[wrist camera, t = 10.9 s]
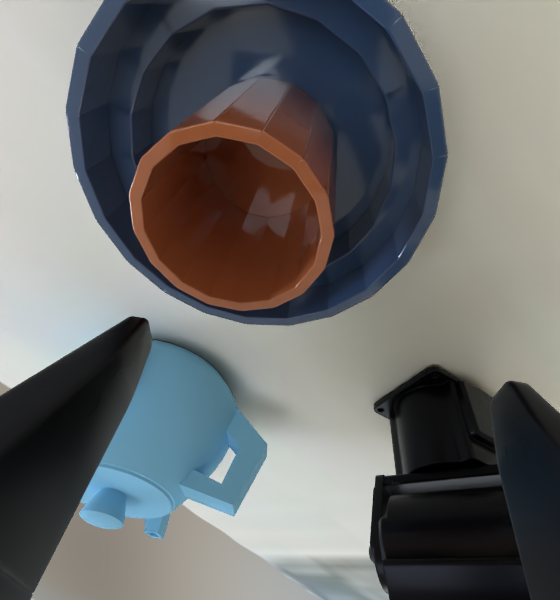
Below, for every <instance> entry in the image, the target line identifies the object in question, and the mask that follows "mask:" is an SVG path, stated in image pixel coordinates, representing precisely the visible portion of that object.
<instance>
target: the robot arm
mask: <svg viewBox="0 0 560 600" xmlns="http://www.w3.org/2000/svg"><path fill="white" fill-rule="evenodd" d="M151 347H152V339H151V333H150V327H149V323H148V320H147V319H145V318H140V317H134V316H132V317H129V318H127V319H125V320H123V321H122V322H120V323H119V324H117V325H115V326H114V327H112V328H110V329H109V330H107V331H105V332H104V333H102V334H101V335H99V336H97V337H96V338H94V339H92V340H91V341H89V342H87V343H86V344H84V345H83V346H81V347H79V348H78V349H76V350H74V351H73V352H71V353H69V354H68V355H66V356H64V357H63V358H61V359H60V360H58V361H56V362H55V363H53V364H51V365H50V366H48V367H46V368H45V369H43V370H42V371H40V372H38V373H37V374H35V375H33V376H32V377H30V378H28V379H27V380H25V381H24V382H22V383H20V384H19V385H17V386H15V387H14V388H12V389H10V390H9V391H7V392H6V393H4V394H2V395H1V396H0V600H30V599H31V597H32V593H33V592H34V591H35V589H36V587H37V585H38V583H39V581H40V579H41V577H42V575H43V573H44V571H45V569H46V567H47V565H48V563H49V562H50V560H51V558H52V556H53V554H54V552H55V550H56V548H57V546H58V544H59V542H60V540H61V538H62V536H63V534H64V532H65V530H66V528H67V526H68V524H69V523H70V520H71V518H72V517H73V515H74V512H75V511H76V509H77V507H78V505H79V503H80V501H81V499H82V497H83V495H84V493H85V491H86V489H87V487H88V485H89V483H90V482H91V480H92V478H93V476H94V474H95V472H96V470H97V468H98V466H99V464H100V462H101V460H102V458H103V456H104V454H105V452H106V450H107V448H108V446H109V444H110V442H111V441H112V439H113V437H114V435H115V433H116V431H117V429H118V427H119V425H120V423H121V421H122V419H123V417H124V415H125V413H126V411H127V409H128V407H129V405H130V403H131V401H132V398H133V396H134V393H135V390H136V388H137V385H138V382H139V380H140V377H141V374H142V372H143V369H144V366H145V364H146V361H147V358H148V356H149V353H150V350H151ZM374 411H375V412H376V413H378V414H380V415H382V416H384V417H386V418H388V419H390V425H391V434H392V443H393V452H394V460H395V469H396V475H391V476H384V475H377V476H376V478H375V487H374V491H373V506H372V521H371V536H370V547H369V556H370V559H371V560H372V562H373V563H374V564H375V566H376V570H377V574H378V578H379V581H380V583H381V585H382V588H383V589H384V591H385V592H386V593H388V594H389V599H390V600H560V413H559V412H558V411H556V410H555V409H554V408H553V407H552V406H551V405H550V404H549V403H548V402H547V401H546V400H545V399H544V398H542V397H541V396H540V395H539V394H538V393H537V392H536V391H535V390H534V389H533V388H532V387H531V386H529V385H528V384H526V383H522V382H516V381H508V382H506V383H505V384H504V385H503V386H502V388H501V389H500V390H499V391H498V393H497V394H496V395H495V396H494V398H491V397H490V396H488V395H487V394H486V393H484V392H482V391H481V390H479V389H477V388H476V387H474V386H472V385H470V384H469V383H467V382H465V381H463V380H460V379H459V378H457V377H455V376H453V375H452V374H450V373H448V372H447V371H445V370H443V369H441V368H440V367H437V366H432V367H429V368H428V369H426V370H425V371H423V372H422V373H420V374H418V375H417V376H415V377H414V378H412V379H411V380H409V381H408V382H406V383H405V384H403V385H402V386H400V387H399V388H397V389H396V390H394V391H393V392H391V393H390V394H388V395H387V396H385V397H384V398H382V399H381V400H379V401H378V402H376V403H375V404H374Z"/></svg>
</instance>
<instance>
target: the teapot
mask: <svg viewBox="0 0 560 600" xmlns="http://www.w3.org/2000/svg"><path fill="white" fill-rule="evenodd" d="M229 447H230V448H231V449H232V450H233V451H234V453H235V454H236V456H235V458H234V460H233V462H232V464H231V466H230V468H229V470H228V472H227V474H226V476H225V478H224V480H223V482H222V484H220V483H218V482H217V481H215V480H213V479H211V478H209V476H210V475H211V474H212V473H213V472H214V471H215V469H216V468H217V467H218V465H219V464H220V462H221V461H222V459H223V458H224V456H225V454H226V452H227V450H228V449H229ZM266 456H267V444H266V442H265V441H264V440H263V439H262V437H261V436H260V435H259V434H258V433H257V431H256V430H255V429H254V428H253V427H252V425H251V424H250V423H249V422H248V421H247V419H246V418H245V417H244V416H243V415H242V413H241V412H240V411H239V410H238V408H237V405H236V401H235V399H234V397H233V395H232V393H231V391H230V389H229V387H228V386H227V384H226V383H225V381H224V380H223V378H222V377H221V376H220V374H219V373H218V372H217V371H216V370H215V369H214V368H213V367H212V366H211V365H210V364H209V363H208V362H206V361H205V360H204V359H202V358H201V357H199V356H197V355H196V354H194V353H192V352H190V351H188V350H186V349H184V348H181V347H179V346H176V345H173V344H170V343H167V342H162V341H158V340H152V347H151V350H150V353H149V356H148V358H147V361H146V364H145V366H144V369H143V372H142V374H141V377H140V380H139V382H138V385H137V388H136V390H135V393H134V396H133V398H132V401H131V403H130V405H129V407H128V409H127V411H126V413H125V415H124V417H123V419H122V421H121V423H120V425H119V427H118V429H117V431H116V433H115V435H114V437H113V439H112V441H111V442H110V444H109V446H108V448H107V450H106V452H105V454H104V456H103V458H102V460H101V462H100V464H99V466H98V468H97V470H96V472H95V474H94V476H93V478H92V480H91V482H90V483H89V485H88V487H87V489H86V491H85V493H84V495H83V497H82V499H81V501H80V502H82V503H84V504H86V505H85V506H84V507H83V509H82V510H81V511H80V513H79V515H80V516H81V517H82V518H83V519H84V520H85V521H86V522H88V523H89V524H92V525H94V526H97V527H100V528H105V529H118V528H122V527H123V524H124V520H125V517H131V518H142V519H145V530H144V532H145V533H146V534H147V535H149V537H152V538H160V539H163V538H164V534H165V531H166V527H167V524H168V520H169V517H170V513H171V512H172V511H173V510H174V509H176V508H177V507H178V506H179V505H181V504H182V503H183V502H184V501H185V500H187V499H191V500H193V501H196V502H198V503H201V504H204V505H206V506H209V507H211V508H214V509H216V510H219V511H221V512H224V513H226V514H229V515H231V516H235V514H236V512H237V510H238V508H239V506H240V505H241V503H242V501H243V499H244V497H245V495H246V494H247V492H248V490H249V488H250V486H251V484H252V483H253V481H254V479H255V477H256V475H257V473H258V472H259V470H260V468H261V466H262V464H263V462H264V461H265V459H266Z"/></svg>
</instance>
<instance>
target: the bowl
mask: <svg viewBox="0 0 560 600" xmlns="http://www.w3.org/2000/svg"><path fill="white" fill-rule="evenodd" d="M254 78H274V79H280V80H283V81H287V82H289V83H291V84H293V85H296V86H297V87H299V88H301V89H302V90H304V91H305V92H306V93H308V94H309V95H310V96H311V97H312V98H313V99H314V100H315V101H316V102H317V103H318V104H319V105H320V107H321V108H322V110H323V111H324V113H325V114H326V116H327V118H328V120H329V122H330V125H331V128H332V130H333V134H334V139H335V146H336V157H337V173H336V205H335V235H334V240H333V244H332V247H331V250H330V254H329V257H328V261H327V264H326V268H325V269H324V271H323V272H322V273H321V274H320V275H319V277H318V278H317V279H316V280H315V281H314V282H313V283H312V284H311V286H310V287H309V288H308V289H307V290H306V291H305V292H304V293H303V294H302V295H300V296H298V297H296V298H294V299H291V300H289V301H287V302H285V303H283V304H281V305H279V306H277V307H274V308H267V309H257V310H247V311H239V310H234V309H229V308H224V307H219V306H214V305H209V304H207V303H205V302H203V301H201V300H199V299H197V298H195V297H193V296H191V295H189V294H188V293H186V292H184V291H182V290H180V289H178V288H177V287H175V286H174V285H173V284H172V283H171V282H170V281H169V280H168V279H167V278H166V277H165V276H164V275H163V274H162V273H161V272H160V271H159V270H158V269H157V268H156V267H155V266H154V265H153V264H152V263H151V262H150V261H149V259H148V257H147V255H146V253H145V251H144V249H143V247H142V246H141V244H140V242H139V240H138V238H137V236H136V234H135V233H134V230H133V224H132V216H131V208H130V200H129V191H130V188H131V185H132V182H133V179H134V176H135V173H136V170H137V167H138V164H139V162H140V159H141V158H142V156H143V155H144V154H145V153H146V152H147V151H149V150H150V149H151V148H152V147H153V146H154V145H155V144H156V143H157V142H158V141H160V140H161V139H162V138H163V137H164V136H165V135H166V134H167V133H168V132H170V131H171V130H172V129H174V128H175V127H176V126H178V125H179V124H180V123H182V122H183V121H184V120H186V119H187V118H188V117H190V116H191V115H192V114H194V113H195V112H196V111H198V110H199V109H200V108H202V107H203V106H204V105H206V104H207V103H208V102H210V101H211V100H212V99H214V98H215V97H216V96H218V95H219V94H220V93H222V92H223V91H225V90H226V89H227V88H229V87H230V86H232V85H236V84H238V83H240V82H243V81H246V80H249V79H254ZM66 116H67V123H68V130H69V137H70V145H71V152H72V159H73V166H74V169H75V173H76V175H77V177H78V180H79V182H80V184H81V187H82V189H83V191H84V194H85V196H86V198H87V200H88V203H89V205H90V207H91V210H92V212H93V214H94V217H95V219H96V220H97V222H98V223H99V225H100V226H101V227H102V229H103V230H104V231H105V233H106V234H107V235H108V237H109V238H110V239H111V241H112V242H113V243H114V244H115V246H116V247H117V248H118V250H119V251H120V252H121V254H122V255H123V256H124V258H125V259H126V260H127V261H128V262H129V263H130V264H131V265H132V266H134V267H135V268H136V269H137V270H138V271H139V272H141V273H142V274H143V275H144V276H145V277H147V278H148V279H149V280H150V281H151V282H153V283H154V284H155V285H156V286H157V287H159V288H160V289H161V290H162V291H165V293H167V294H169V295H171V296H173V297H174V298H176V299H178V300H180V301H182V302H184V303H186V304H188V305H190V306H192V307H194V308H196V309H198V310H200V311H201V312H203V313H204V312H205V313H206V314H210V315H214V316H218V317H221V318H225V319H229V320H233V321H236V322H240V323H244V324H256V325H287V326H289V325H295V324H299V323H304V322H309V321H314V320H318V319H323V318H328V317H332V316H334V315H336V314H338V313H340V312H342V311H344V310H346V309H348V308H350V307H352V306H354V305H356V304H358V303H360V302H362V301H364V300H366V299H368V298H370V297H372V296H373V295H374V294H375V293H376V292H378V291H379V290H380V289H381V288H382V287H383V286H384V285H385V284H386V283H387V282H388V281H389V280H390V279H391V278H393V277H394V276H395V275H396V274H397V273H398V272H399V271H400V270H401V269H402V268H403V267H404V266H405V265H407V263H408V262H409V261H410V259H411V257H412V256H413V254H414V252H415V250H416V249H417V247H418V245H419V243H420V242H421V240H422V238H423V236H424V235H425V233H426V231H427V229H428V228H429V226H430V224H431V222H432V221H433V219H434V217H435V215H436V211H437V206H438V201H439V196H440V191H441V186H442V181H443V177H444V172H445V167H446V162H447V157H448V156H447V154H448V151H447V144H446V136H445V128H444V121H443V113H442V105H441V98H440V90H439V86H438V82H437V80H436V78H435V76H434V74H433V72H432V70H431V69H430V67H429V65H428V63H427V61H426V59H425V57H424V55H423V53H422V51H421V49H420V47H419V45H418V43H417V42H416V40H415V38H414V36H413V34H412V32H411V30H410V28H409V26H408V24H407V22H406V20H405V18H404V16H403V15H401V13H400V12H399V11H398V10H397V9H396V8H395V7H394V6H393V5H391V4H390V3H389V2H388V1H387V0H104V1H103V3H102V5H101V6H100V8H99V9H98V11H97V13H96V14H95V16H94V18H93V19H92V21H91V23H90V24H89V26H88V28H87V29H86V31H85V32H84V34H83V36H82V37H81V39H80V41H79V42H78V46H77V48H76V53H75V59H74V65H73V70H72V76H71V82H70V87H69V93H68V99H67V104H66Z"/></svg>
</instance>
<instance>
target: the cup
mask: <svg viewBox="0 0 560 600" xmlns="http://www.w3.org/2000/svg"><path fill="white" fill-rule="evenodd" d="M336 173H337V157H336V146H335V139H334V134H333V130H332V128H331V125H330V122H329V120H328V118H327V116H326V114H325V113H324V111H323V110H322V108H321V107H320V105H319V104H318V103H317V102H316V101H315V100H314V99H313V98H312V97H311V96H310V95H309V94H308V93H306V92H305V91H304V90H302V89H301V88H299V87H297V86H296V85H293V84H291V83H289V82H287V81H283V80H280V79H274V78H254V79H249V80H246V81H243V82H240V83H238V84H236V85H232V86H230V87H229V88H227V89H226V90H225V91H223V92H222V93H220V94H219V95H218V96H216V97H215V98H214V99H212V100H211V101H210V102H208V103H207V104H206V105H204V106H203V107H202V108H200V109H199V110H198V111H196V112H195V113H194V114H192V115H191V116H190V117H188V118H187V119H186V120H184V121H183V122H182V123H180V124H179V125H178V126H176V127H175V128H174V129H172V130H171V131H170V132H168V133H167V134H166V135H165V136H164V137H163V138H162V139H161V140H160V141H158V142H157V143H156V144H155V145H154V146H153V147H152V148H151V149H150V150H149V151H147V152H146V153H145V154H144V155H143V156H142V158H141V159H140V162H139V164H138V167H137V170H136V173H135V176H134V179H133V182H132V185H131V188H130V191H129V200H130V208H131V216H132V224H133V230H134V233H135V234H136V236H137V238H138V240H139V242H140V244H141V246H142V247H143V249H144V251H145V253H146V255H147V257H148V259H149V261H150V262H151V263H152V264H153V265H154V266H155V267H156V268H157V269H158V270H159V271H160V272H161V273H162V274H163V275H164V276H165V277H166V278H167V279H168V280H169V281H170V282H171V283H172V284H173V285H174V286H175V287H177V288H178V289H180V290H182V291H184V292H186V293H188V294H189V295H191V296H193V297H195V298H197V299H199V300H201V301H203V302H205V303H207V304H209V305H214V306H219V307H224V308H229V309H234V310H239V311H247V310H257V309H267V308H274V307H277V306H279V305H281V304H283V303H285V302H287V301H289V300H291V299H294V298H296V297H298V296H300V295H302V294H303V293H304V292H305V291H306V290H307V289H308V288H309V287H310V286H311V284H312V283H313V282H314V281H315V280H316V279H317V278H318V277H319V275H320V274H321V273H322V272H323V271H324V269H325V268H326V264H327V261H328V257H329V254H330V250H331V247H332V244H333V240H334V235H335V205H336Z"/></svg>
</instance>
